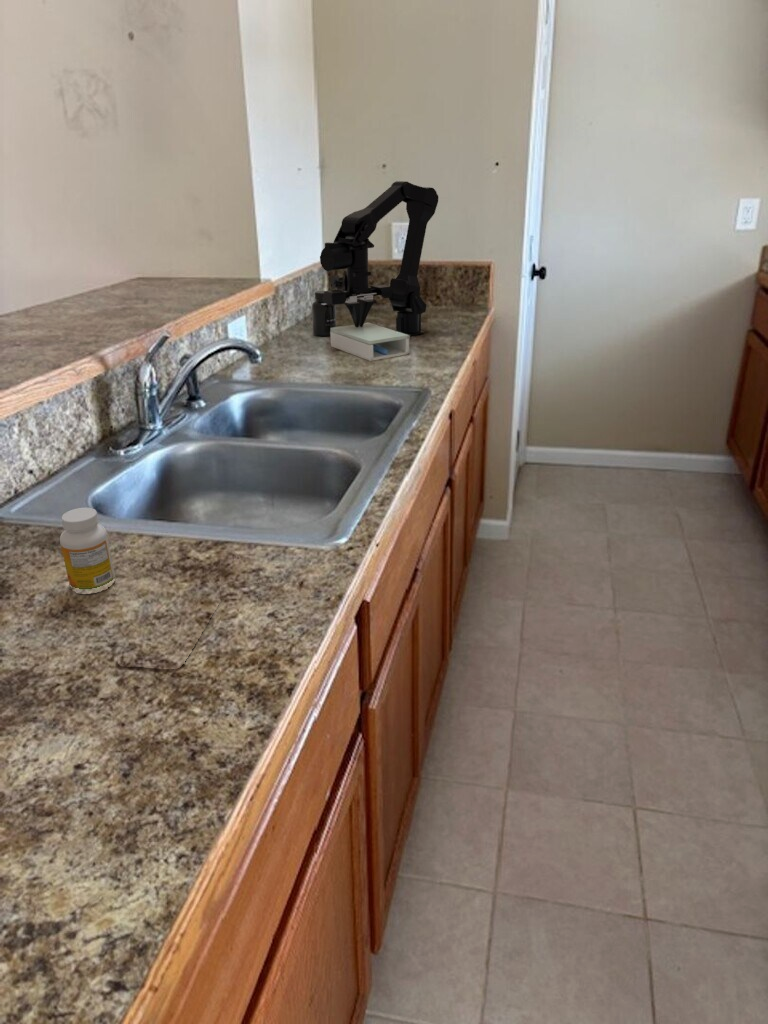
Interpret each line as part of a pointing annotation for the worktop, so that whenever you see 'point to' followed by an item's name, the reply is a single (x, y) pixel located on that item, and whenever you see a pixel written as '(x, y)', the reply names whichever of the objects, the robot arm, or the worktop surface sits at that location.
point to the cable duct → (370, 347)
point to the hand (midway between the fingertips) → (358, 327)
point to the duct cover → (370, 333)
